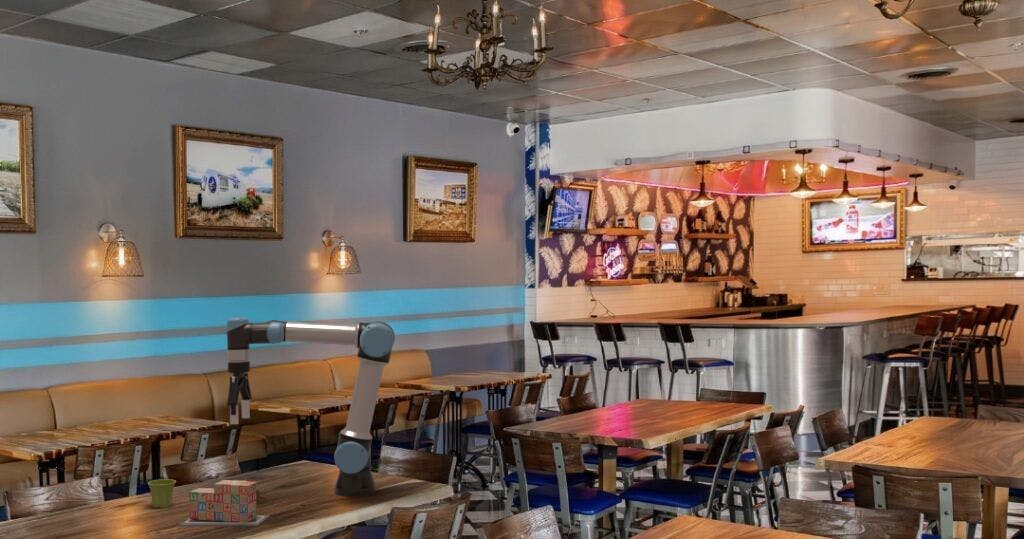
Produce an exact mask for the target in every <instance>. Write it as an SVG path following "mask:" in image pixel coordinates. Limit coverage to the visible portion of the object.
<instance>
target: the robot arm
mask: <svg viewBox="0 0 1024 539" xmlns="http://www.w3.org/2000/svg"><path fill="white" fill-rule="evenodd" d="M226 324H227V325H226V343H227V351H226V352H225V355H227V361H228V363H227V373H229V374H232V376H230V377H229V387H228V396H227V403H226V406H227V407H229V424H230V425H239V422H240V421H239V405H238V401H239V396H241V402H240V405H241V419H250V418H251V416H250V415H251V413H250V409H251V408H250V401H251V400H252V399H253V397H252V392H251V387H250V380H249V372H250V371H251V366H250V365H251V362H250V361H249V360H251V358H250V345H257V344H259V345H261V344H262V345H264V344H271V345H274V344H281V343H283V342H287V343H303V344H304V343H305V344H320V345H321V344H322V345H342V346H354V347H355V348H356V349H358V350H357V355H356V358H357V359H358V361H359V366H358V369H357V370H358V371H357V376H356V378H355V379H356V380H355V384H354V388H353V392H352V397H351V401H350V402H351V403H350V406H349V411H348V416H347V420H346V425H345V427H344V428H343V429H341V430H340V432H339V433H338V441H337V446H336V448H335V451H334V454H333V455H334V456H333V459H334V463H335V465H336V467H337V468H338V469H339V471H338V475H337V479H336V482H335V486H334V494H335V495H337V496H339V497H340V496H341V497H362V496H367V495H368V496H369V495H372V494H374V493H376V492H377V486H376V483H375V479H374V477H373V476H374V475H373V473H372V464H371V462H372V460H371V459H372V456H371V455H372V454H371V452H372V449H371V447H372V446H371V445H372V441H373V436H372V435H371V426H372V422H373V417H374V413H375V408H376V403H377V399H378V394H379V390H380V385H381V380H382V376H383V372H384V368H385V366H387V365H388V364H390V360H391V356H392V350H393V347H394V343H395V337H396V336H395V332H394V329H393V328H392V326H390V325H389V324H388V323H386V322H383V321H374V322H358V323H357V324H345V323H344V324H341V323H323V322H322V323H321V322H307V321H306V322H304V321H283V320H282V321H281V320H278V319H277V320H276V319H272V320H271V319H270V320H268V321H266V322H250V321H249V318H248V317H230V318H228V319H227V323H226Z"/></svg>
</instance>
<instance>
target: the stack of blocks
mask: <svg viewBox="0 0 1024 539" xmlns="http://www.w3.org/2000/svg"><path fill="white" fill-rule="evenodd" d="M257 485H258V484H257V481H248V480H233V479H232V480H228V479H222V480H221V481H220V480H219V481H218V482H216V483H214V484H213V488H211V487H210V488H208V487H198V488H196V489H193V490H190V491H189V495H188V496H189V498H188V499H189V518H190V519H197V520H211V521H227V522H241V523H248V522H250V521H252V520H254V519H256V518H257V515H258V514H257V513H258V510H257V507H258V506H257V505H258V504H257V502H258V500H257V490H258V489H257Z"/></svg>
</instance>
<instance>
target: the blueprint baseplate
mask: <svg viewBox="0 0 1024 539" xmlns="http://www.w3.org/2000/svg"><path fill="white" fill-rule="evenodd" d="M269 517H271V515H270V514H257V518H256V519H254V520H252V521H250V522H248V523H241V522H227V521H211V520H197V519H190V517H188V518H187V519H185V520H184V521H183V522H181V523H179V524H178V527H183V528H184V527H186V526H187V527H258V526H259V525H261V524H262V523H263V522H265V520H267V519H269ZM260 523H261V524H260Z"/></svg>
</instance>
